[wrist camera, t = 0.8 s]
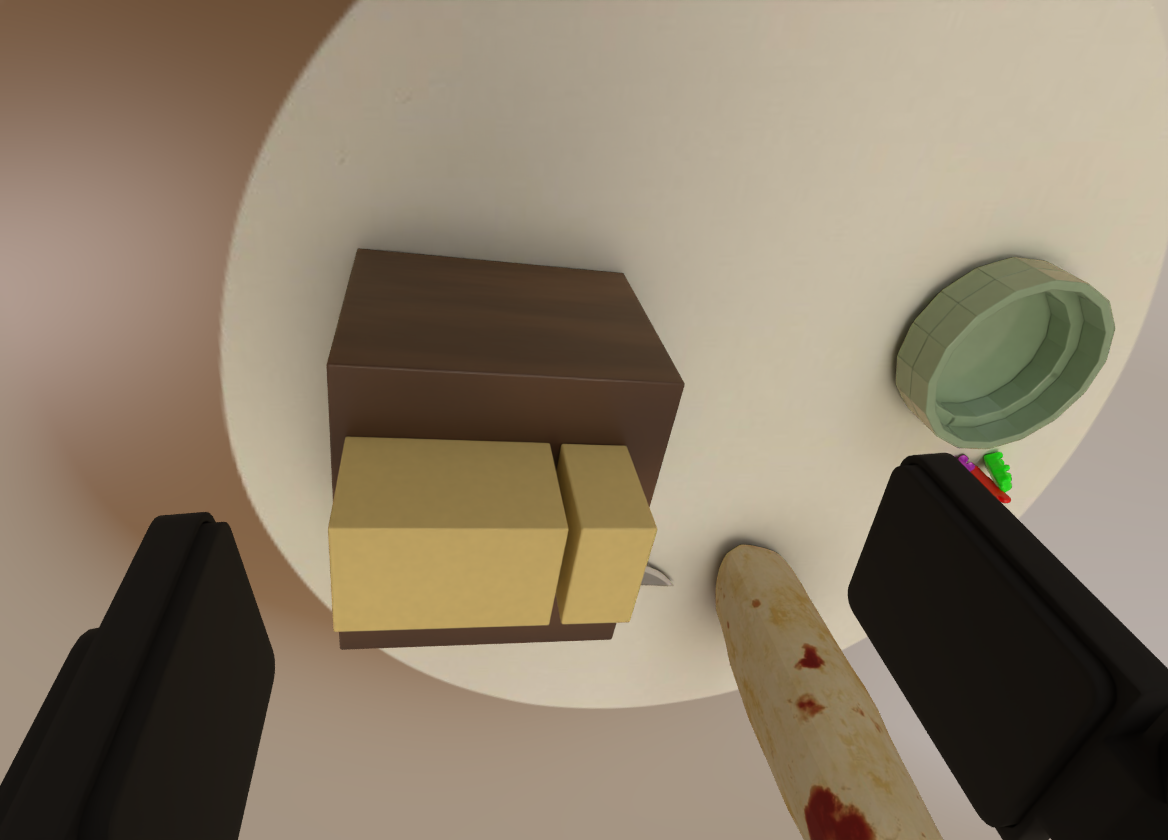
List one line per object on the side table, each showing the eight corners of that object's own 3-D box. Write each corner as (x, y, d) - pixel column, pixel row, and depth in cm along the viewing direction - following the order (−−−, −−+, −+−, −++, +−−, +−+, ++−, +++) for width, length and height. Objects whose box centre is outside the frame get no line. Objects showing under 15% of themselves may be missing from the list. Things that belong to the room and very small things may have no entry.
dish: (940, 245, 34) (985, 272, 31) (1098, 263, 37) (1153, 290, 34) (863, 410, 40) (895, 446, 37) (1005, 417, 42) (1046, 451, 39)
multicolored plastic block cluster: (920, 487, 44) (953, 524, 42) (933, 454, 43) (968, 491, 40) (988, 480, 45) (1025, 517, 42) (1004, 448, 44) (1043, 483, 41)
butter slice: (561, 442, 25) (582, 529, 21) (626, 444, 25) (658, 529, 22) (544, 534, 27) (560, 625, 23) (605, 533, 28) (630, 623, 24)
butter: (345, 435, 23) (327, 528, 19) (550, 442, 25) (569, 529, 21) (348, 533, 25) (333, 632, 22) (534, 533, 27) (549, 625, 23)
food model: (684, 549, 44) (827, 902, 28) (783, 514, 44) (985, 850, 28) (713, 635, 50) (845, 969, 34) (800, 604, 49) (976, 926, 33)
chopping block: (357, 247, 29) (326, 363, 21) (624, 272, 32) (685, 383, 24) (361, 495, 37) (339, 650, 29) (577, 498, 40) (612, 640, 32)
